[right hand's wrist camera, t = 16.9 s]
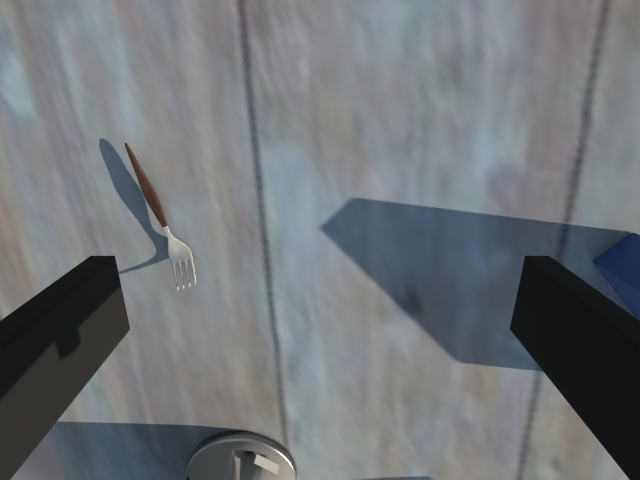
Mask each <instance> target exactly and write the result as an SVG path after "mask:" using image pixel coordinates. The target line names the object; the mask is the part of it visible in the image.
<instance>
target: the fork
mask: <svg viewBox="0 0 640 480" xmlns="http://www.w3.org/2000/svg"><path fill="white" fill-rule="evenodd" d="M125 147H126V150H127V152H128V155H129V158H130V160H131V163H132V165H133V168H134V170H135V173H136V176H137V178H138V181H139V184H140V187H141V189H142V192H143V194H144V197H145V199H146V201H147V202H148V204H149V206H150V208H151V209H152V211H153V212H154V214H155V216H156V217H157V219H158V220H159V222H160V224H161V225H162V227H163V229H164V230H165V232H166V234H167V237H168V255H169V259H170V262H171V265H172V268H173V272H174V277H175V281H176V285H177V290H178V281H177V273H176V264H177V265H178V268H179V271H180V275H181V280H182V284H183V288H184V280H183V272H182V263H183V264H184V266H185V270H186V274H187V278H188V283H189V287H190V279H189V271H188V264H187V262H188V261H189V262H190V265H191V269H192V273H193V277H194V281H195V285H196V278H195V270H194V264H193V258H192V253H191V251H190V249H189V248H188V247H187V246H186V245H185V244H184V243H182V242H181V241H179V240H178V239H176V238H175V237H173V236H172V234H171V233H170V231H169V228H168V226H167V223H166V220H165V217H164V214H163V211H162V208H161V205H160V202H159V200H158V197H157V195H156V193H155V191H154V189H153V187H152V186H151V184H150V182H149V181H148V179H147V177H146V176H145V174H144V172H143V171H142V169H141V167H140V165H139V163H138V162H137V160H136V158H135V156H134V154H133V153H132V151H131V149H130V148H129V146H128V144H127V143H125Z"/></svg>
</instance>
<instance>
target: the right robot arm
mask: <svg viewBox="0 0 640 480" xmlns="http://www.w3.org/2000/svg"><path fill="white" fill-rule="evenodd" d="M129 330H130V327H129V322H128V317H127V312H126V307H125V303H124V298H123V293H122V288H121V284H120V279H119V274H118V269H117V264H116V260H115V256H90V257H89V258H87V259H86V260H84V261H83V262H82V263H80V264H79V265H77V266H76V267H75V268H73V269H72V270H71V271H69V272H68V273H66V274H65V275H64V276H62V277H61V278H59V279H58V280H57V281H55V282H54V283H53V284H51V285H50V286H48V287H47V288H46V289H44V290H43V291H41V292H40V293H39V294H37V295H36V296H34V297H33V298H32V299H30V300H29V301H28V302H26V303H25V304H23V305H22V306H21V307H19V308H18V309H16V310H15V311H14V312H12V313H11V314H9V315H8V316H7V317H5V318H4V319H3V320H1V321H0V480H10V479H11V478H12V477H13V475H14V474H15V473H16V472H17V470H18V469H19V468H20V467H21V465H22V464H23V463H24V462H25V460H26V459H27V458H28V457H29V455H30V454H31V453H32V452H33V450H34V449H35V448H36V447H37V445H38V444H39V443H40V442H41V440H42V439H43V438H44V436H45V435H46V434H47V433H48V431H49V430H50V429H51V428H52V426H53V425H54V424H55V423H56V421H57V420H58V419H59V418H60V416H61V415H62V414H63V413H64V411H65V410H66V409H67V408H68V406H69V405H70V404H71V403H72V401H73V400H74V399H75V398H76V396H77V395H78V394H79V393H80V391H81V390H82V389H83V388H84V386H85V385H86V384H87V383H88V381H89V380H90V379H91V378H92V376H93V375H94V374H95V373H96V371H97V370H98V369H99V368H100V366H101V365H102V364H103V362H104V361H105V360H106V359H107V357H108V356H109V355H110V354H111V352H112V351H113V350H114V349H115V347H116V346H117V345H118V344H119V342H120V341H121V340H122V339H123V337H124V336H125V335H126V334H127V332H128V331H129ZM510 330H511V331H512V332H513V334H514V335H515V336H516V337H517V339H518V340H519V341H520V342H521V344H522V345H523V346H524V347H525V349H526V350H527V351H528V352H529V354H530V355H531V356H532V357H533V359H534V360H535V361H536V362H537V364H538V365H539V366H540V368H541V369H542V370H543V371H544V373H545V374H546V375H547V376H548V378H549V379H550V380H551V381H552V383H553V384H554V385H555V386H556V388H557V389H558V390H559V391H560V393H561V394H562V395H563V396H564V398H565V399H566V400H567V401H568V403H569V404H570V405H571V406H572V408H573V409H574V410H575V411H576V413H577V414H578V415H579V416H580V418H581V419H582V420H583V421H584V423H585V424H586V425H587V426H588V428H589V429H590V430H591V431H592V433H593V434H594V435H595V437H596V438H597V439H598V440H599V442H600V443H601V444H602V445H603V447H604V448H605V449H606V450H607V452H608V453H609V454H610V455H611V457H612V458H613V459H614V460H615V462H616V463H617V464H618V465H619V467H620V468H621V469H622V470H623V472H624V473H625V474H626V475H627V477H628V478H629V479H630V480H640V321H639V320H637V319H636V318H635V317H633V316H632V315H631V314H629V313H628V312H626V311H625V310H624V309H622V308H621V307H619V306H618V305H617V304H615V303H614V302H612V301H611V300H610V299H608V298H607V297H606V296H604V295H603V294H601V293H600V292H599V291H597V290H596V289H594V288H593V287H592V286H590V285H589V284H587V283H586V282H585V281H583V280H582V279H581V278H579V277H578V276H576V275H575V274H574V273H572V272H571V271H569V270H568V269H567V268H565V267H564V266H562V265H561V264H560V263H558V262H557V261H556V260H554V259H553V258H551V257H550V256H525V260H524V264H523V269H522V274H521V279H520V284H519V288H518V293H517V298H516V303H515V307H514V312H513V317H512V322H511V327H510ZM296 475H297V470H296V465H295V462H294V460H293V458H292V456H291V455H290V453H289V452H288V451H287V450H286V449H285V448H284V447H283V446H282V445H280V444H279V443H277V442H276V441H274V440H272V439H270V438H268V437H266V436H263V435H260V434H256V433H250V432H228V433H223V434H219V435H216V436H213V437H211V438H209V439H207V440H206V441H204V442H203V443H202V444H200V445H199V446H198V447H197V448H196V450H195V451H194V452H193V454H192V456H191V459H190V462H189V464H188V467H187V471H186V477H185V480H296Z"/></svg>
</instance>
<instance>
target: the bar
mask: <svg viewBox="0 0 640 480" xmlns="http://www.w3.org/2000/svg"><path fill="white" fill-rule="evenodd" d="M593 263H594V264H595V265H596V267H597V268H598V269H599V270H600V272H601V273H602V274H603V276H604V277H605V278H606V279H607V281H608V282H609V283H610V284H611V286H612V287H613V288H614V290H615V291H616V292H617V293H618V295H619V296H620V297H621V299H622V300H623V301H624V302H625V304H626V305H627V306H628V307H629V309H630V310H631V311H632V313H633V314H634V315H635V316H636V318H637V319H638V320H639V321H640V235H638V234H636V233H632V234H631V235H629V236H628V237H626V238H625V239H623V240H622V241H621V242H619V243H618V244H616V245H615V246H614V247H612V248H611V249H609V250H608V251H607V252H605V253H604V254H602V255H601V256H599V257H598V258H597V259H595V260H594V261H593Z"/></svg>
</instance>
